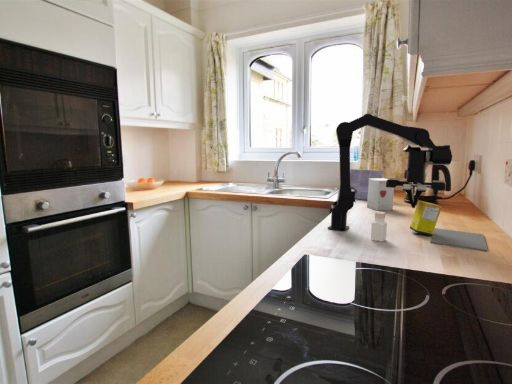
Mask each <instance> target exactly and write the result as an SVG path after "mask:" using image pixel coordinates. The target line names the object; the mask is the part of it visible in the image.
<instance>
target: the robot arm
mask: <svg viewBox="0 0 512 384" xmlns="http://www.w3.org/2000/svg"><path fill="white" fill-rule="evenodd" d="M366 126H367V127H370V128H373V129H376V130H379V131H381V132H384V133H388V134H391V135H393V136H397V138H400V139H401V140H403V141H404V142H407V143H408V144H407V145H406V146H405V148H403V149H402V150H401V151H402V152H404V153H407V154H408V155H407V167H406V169H404V175H403V177H404V179H405V180H401V179H400V178H394V177H393V178H387V179H388V180H387V181H386V187H391V188H394V189H395V188H396V187H398V186H399V187H402V192H405V193H406V195H407V198H408V199H409V203H410V206H411V208H412V209H416V206H417V203H418V200H419V198H420V197H421V195H422V193H426V192H427V189H429V188H430V189H433V190H434V191H440V192H441V191H442V192H444V191H446V186H447V182H446V181H445V180H432V182H429V181H427V182H426V164H427V163H429V164H430V165H433V166H434V165H435V166H436V165H437V166H439V165H441V166H446V165H447V166H449V165H450V164H451V163H452V160H453V154H452V149H451V145H450V144H445V145H436V144H435V143H434V141H433V140H432V139H431V136H430V133H429V130H428V129H426V128H422V127H418V126H417V127H416V126H406V125H402V124H398V123H395V122H393V121H390V120H386V119H384V118H382V117H378V116H374V115H372V114H371V113H365V114H363V115H362V116H360V117H358V118H356V119H353V120H351V121H343V122H340V123H339V124H338V125H337V126H336V129H335V135H336V139H337V143H338V148H339V153H338V154H339V187H338V192H337V196H336V197H337V199H336V201H334V202H333V203H332V204H331V206H330V207H331V213H330V214H331V217H330V225H329V226H328V227H327V230H334V231H339V232H340V231H342V232H346V231H347V230H348V229H349V228H350V226H349V225H347V221H348V220H347V219H348V212H349V210H351V209H352V208H353V207H354V204H355V203H357V201H356V199H355V190H354V189H351V186H350V170H351V144H352V140H353V134H354V132H356V131H358V130H360V129H361V128H364V127H366ZM411 145H412V146H411ZM414 187H415V188H416V191H415V195H414Z"/></svg>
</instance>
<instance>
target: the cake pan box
mask: <svg viewBox="0 0 512 384" xmlns="http://www.w3.org/2000/svg"><path fill="white" fill-rule="evenodd" d="M371 178H384V170H377V169H376V170H375V169H364V168H363V169H362V168H361V169H360V168H350V186H351V189H354V190H355V200H365V201H367V199H368V185H369V179H371Z"/></svg>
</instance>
